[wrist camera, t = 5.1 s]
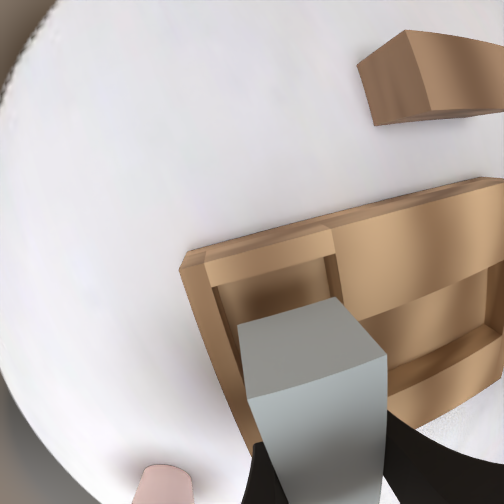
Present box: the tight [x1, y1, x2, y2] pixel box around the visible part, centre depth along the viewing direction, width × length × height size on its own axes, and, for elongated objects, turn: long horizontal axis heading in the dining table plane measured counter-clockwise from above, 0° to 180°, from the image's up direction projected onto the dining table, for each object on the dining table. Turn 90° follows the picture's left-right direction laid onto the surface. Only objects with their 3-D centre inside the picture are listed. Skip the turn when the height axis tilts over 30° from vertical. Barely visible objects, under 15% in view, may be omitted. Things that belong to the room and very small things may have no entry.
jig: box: [179, 177, 504, 457], centre depth 15 cm, size 18×14×3 cm
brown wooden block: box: [357, 30, 504, 126], centre depth 11 cm, size 7×3×5 cm, turn 104°
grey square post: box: [237, 297, 387, 504], centre depth 10 cm, size 4×10×4 cm, turn 14°
